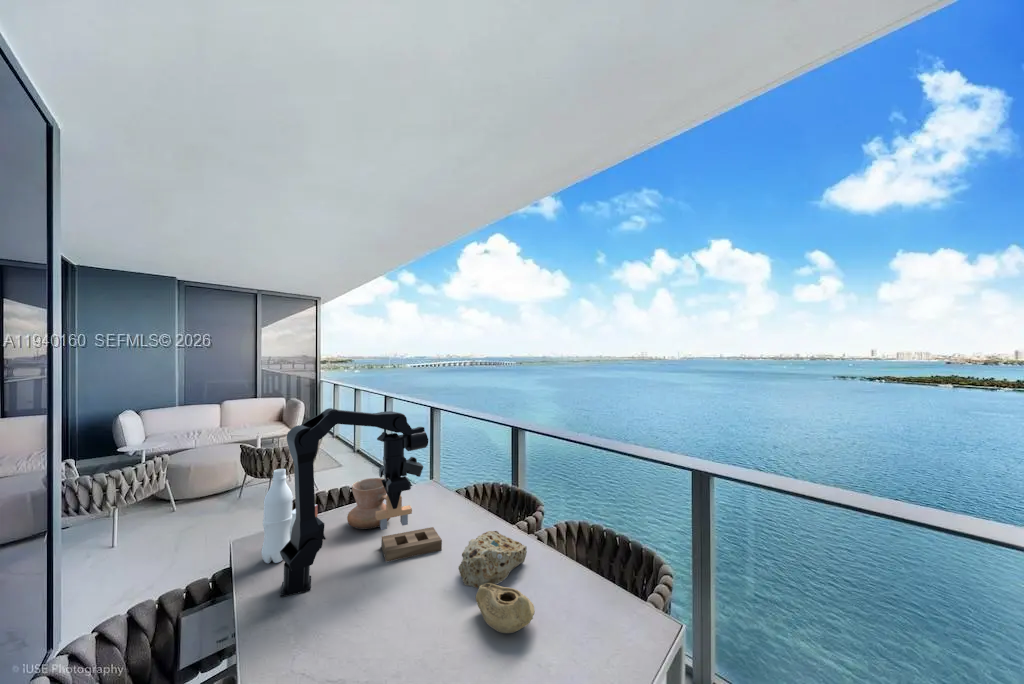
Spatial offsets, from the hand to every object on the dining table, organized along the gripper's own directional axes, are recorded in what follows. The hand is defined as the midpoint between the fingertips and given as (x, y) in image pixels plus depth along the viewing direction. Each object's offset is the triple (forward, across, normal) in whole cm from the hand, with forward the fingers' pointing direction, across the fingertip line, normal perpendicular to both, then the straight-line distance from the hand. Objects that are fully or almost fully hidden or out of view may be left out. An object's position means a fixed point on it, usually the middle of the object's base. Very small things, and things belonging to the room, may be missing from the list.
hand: (394, 506), depth 114 cm
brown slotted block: (+13, 0, -5) cm, 14 cm away
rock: (+14, -22, -22) cm, 35 cm away
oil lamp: (+13, -42, -16) cm, 47 cm away
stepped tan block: (+6, 0, 0) cm, 6 cm away
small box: (+13, +18, +25) cm, 33 cm away
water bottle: (+13, +10, +31) cm, 35 cm away
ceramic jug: (+14, +23, +4) cm, 27 cm away
